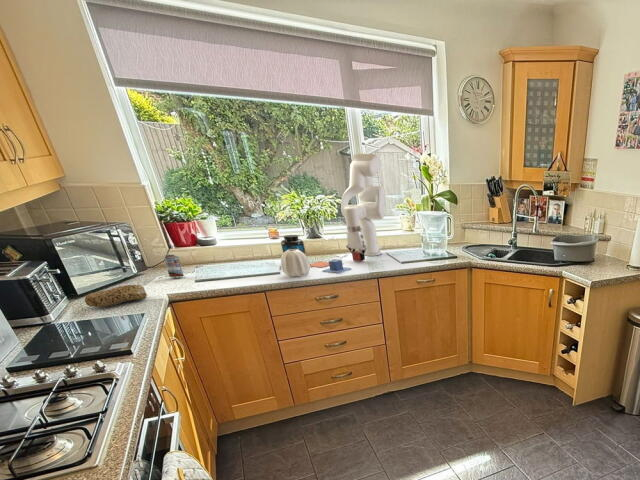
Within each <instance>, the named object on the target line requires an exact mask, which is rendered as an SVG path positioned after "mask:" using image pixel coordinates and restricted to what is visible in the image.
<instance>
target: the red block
mask: <svg viewBox="0 0 640 480" xmlns="http://www.w3.org/2000/svg"><path fill="white" fill-rule="evenodd" d="M360 254H361V253H360V251H359V250H355V252H352V253H351V256H352V260H353V261H354V262H362V261H361V257H360Z"/></svg>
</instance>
